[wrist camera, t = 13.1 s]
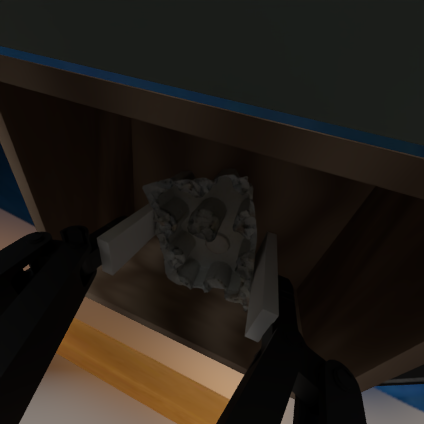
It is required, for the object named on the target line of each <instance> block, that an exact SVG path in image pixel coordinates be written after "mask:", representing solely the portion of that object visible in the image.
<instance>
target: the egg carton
mask: <svg viewBox="0 0 424 424" xmlns="http://www.w3.org/2000/svg"><path fill="white" fill-rule="evenodd" d="M142 189H143V191H144V192H145V194H146V196H147V199H148V201H149V204H150V206H151V207H152V208H153V210H154V215H155V216H154V219H153V220H154V221H155V222H156V230H155V234H156V236H157V237H158V239H159V242H160V248H161V251H162V253H163V256H164V265H165V273H166V275H167V278H169V279H170V280H171V281H173V282H174V283H176V284H178V285H184V286H187V287H188V288H189V289H192V288H201V289H203V291H204V293H208V292H209V291H210V290H211V288H219V289H224V298H225V299H226V300H228V301H230V302H233V303H239V304H241V305H243V306H242V307H243V308H244V310H243V311H245V312H247V311H248V307H249V300H250V290H251V283H252V278H253V271H254V258H255V250H256V243H257V226H256V217H255V208H254V203H253V190H254V189H253V186H252V184H251V183H249V182H248V176H245V177H240V176H239V174H238V172H237V171H236V169H223V170H222V171H221V172H220V173H219V174H218V175H217V176H216V177H215V178H214V180H209V179H207V178H196V177H195V176H194V174H193V172H192V171H182V172H180V173H179V174H176V175H175V176H173V177H171V178H169V179H164V180H161V181H157V182H153V183H150V184H147V185H144V186H143V188H142Z"/></svg>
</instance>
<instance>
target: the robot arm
mask: <svg viewBox="0 0 424 424" xmlns="http://www.w3.org/2000/svg"><path fill="white" fill-rule="evenodd" d="M154 216H155V215H154V210H153V208H152V207H151V206H150V204H147V205H146V206H144V207H143V208H141V209H140V210H138V211H137V212H135V213H134V214H132V215H131V216H129V217H127V216H125V215H124V216H121V217H118V218H116V219H114V220H113V221H111V222H109V223H108V224H106V226H103V227H101V228H100V229H98V230H96V231H95V232H93V233H92V234H90V235H89V231H88V228H86V227H85V226H81V225H75V226H70V227H67V228H64V229H63V230H61V231H60V234H61V237H62V240H63V241H62V240H53V238H52V236H51V234H50V233H48V232H35V233H31V234H28V235H26V236H24V237H22V238H20V239H19V240H17V241H15V242H14V243H12V244H10V245H9V246H7V247H5V248H4V249H2V250H0V424H19V422H20V420H21V418H22V417H23V415H24V413H25V411H26V409H27V407H28V405H29V403H30V401H31V399H32V397H33V395H34V393H35V392H36V390H37V388H38V386H39V384H40V382H41V380H42V378H43V376H44V374H45V372H46V370H47V368H48V367H49V364H50V363H51V361H52V359H53V357H54V355H55V353H56V351H57V349H58V347H59V345H60V343H61V342H62V340H63V338H64V336H65V334H66V332H67V330H68V328H69V326H70V324H71V322H72V320H73V318H74V316H75V315H76V313H77V311H78V309H79V307H80V305H81V303H82V301H83V299H84V297H85V295H86V293H87V291H88V290H89V288H90V286H91V284H92V282H93V280H94V278H95V276H96V274H97V268H98V267H99V266H101V265H102V269H103V271H104V272H106V273H108V274H111V275H114V274H115V273H116V272H117V271H118V270H119V269H120V268H121V267H122V266H123V265H124V264H125V263H126V262H128V261H129V260H130V259H131V258H132V257H133V256H134V255H135V254H136V253H137V252H138V251H139V250H140V249H141V248H142V247H143V246H144V245H145V244H146V243H147V242H148V241H149V240H150V239H151V238H152V237H153V236H155V235H156V234H155V230H156V222H155V221H154V220H153V219H154ZM28 264H29V266H30V268H29V269H28V270H26V271H24V270H23V268H24V267H25V266H27V265H28ZM294 302H295V299H294V290H293V286H292V284H291V282H290V280H289V279H288V278H285V277H283V276H280V275H278V262H277V235H276V234H273V233H270V232H268V231H267V233H266V235H265V237H264V239H263V241H262V243H261V245H260V247H259V250H258V252H257V254H256V256H255V263H254V271H253V278H252V285H251V292H250V300H249V307H248V314H247V322H246V329H245V337H247V338H249V339H252V340H254V341H256V342H259V341H260V340H261V338H262V343H261V348H260V349H259V351H258V352H257V353H256V354H255V356H254V357H255V358H254V359H253V361H252V363H251V365H250V366H249V368H248V370H247V372H246V373H245V375H244V377H243V378H242V380H241V382H240V384H239V385H238V387H237V389H236V390H235V392H234V394H233V396H232V398H231V399H230V401H229V403H228V404H227V406H226V408H225V409H224V411H223V413H222V415H221V416H220V418H219V420H218V422H217V423H216V424H281V421H282V418H283V415H284V412H285V409H286V406H287V403H288V401H289V398H290V395H291V392H293V393H294V394H295V405H294V417H293V418H294V419H293V424H367V423H366V417H365V412H364V406H363V401H362V394H361V390H360V387H359V384H358V382H357V380H356V379H355V377H354V375H353V374H352V373H351V372H350V370H349V369H348V368H347V367H346V366H345V365H343V364H342V363H341V362H339V361H337V360H328V361H325V360H324V359H323V358H322V357H320V356H319V355H318V354H316V353H315V352H314V351H313V350H312V349H310V348H309V347H308V346H307V344H306V343H305V340H304V338H303V337H302V335H301V333H300V332H299V330H298V325H297V316H296V307H295V303H294Z"/></svg>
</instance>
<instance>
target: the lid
mask: <svg viewBox="0 0 424 424" xmlns="http://www.w3.org/2000/svg"><path fill="white" fill-rule="evenodd" d="M0 46H3V47H8V48H12V49H16V50H20V51H25V52H29V53H33V54H37V55H42V56H46V57H50V58H54V59H59V60H63V61H67V62H71V63H76V64H80V65H84V66H88V67H93V68H97V69H101V70H105V71H110V72H114V73H118V74H122V75H127V76H131V77H135V78H139V79H144V80H148V81H152V82H156V83H161V84H165V85H169V86H173V87H178V88H182V89H186V90H190V91H195V92H199V93H203V94H207V95H212V96H216V97H220V98H224V99H229V100H233V101H237V102H241V103H246V104H250V105H254V106H258V107H263V108H267V109H271V110H275V111H280V112H284V113H288V114H292V115H297V116H301V117H305V118H309V119H314V120H318V121H322V122H326V123H331V124H335V125H339V126H343V127H348V128H352V129H356V130H360V131H365V132H369V133H373V134H377V135H382V136H386V137H390V138H394V139H399V140H403V141H407V142H411V143H416V144H420V145H424V0H0Z"/></svg>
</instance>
